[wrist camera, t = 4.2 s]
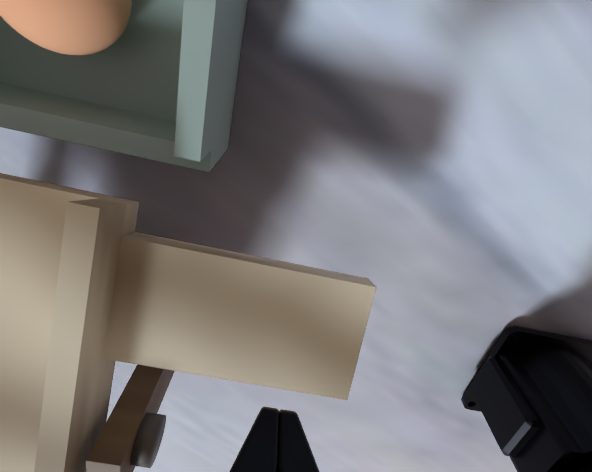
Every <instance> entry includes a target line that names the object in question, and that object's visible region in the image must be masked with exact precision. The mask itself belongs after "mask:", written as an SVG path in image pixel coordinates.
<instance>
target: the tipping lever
mask: <svg viewBox="0 0 592 472" xmlns="http://www.w3.org/2000/svg"><path fill="white" fill-rule="evenodd" d="M138 208H139V202H137V201H132V200H127V199H123V198H118V197H113V196H108V195H103V194H99V193H94V192H89V191H84V190H79V189H74V188H70V187H65V186H60V185H55V184H50V183H45V182H41V181H36V180H31V179H26V178H21V177H16V176H12V175H7V174H2V173H0V472H87V471H86V459H87V457H88V456H89V454H90V452H91V450H92V448H93V446H94V444H95V443H96V441H97V439H98V437H99V435H100V433H101V431H102V430H103V428H104V426H105V424H106V419H107V413H108V406H109V399H110V393H111V386H112V380H113V373H114V366H115V361H121V362H127V363H133V364H138V365H144V366H150V367H156V368H162V369H168V370H174V371H179V372H185V373H191V374H197V375H203V376H209V377H215V378H220V379H226V380H232V381H238V382H244V383H250V384H256V385H261V386H267V387H273V388H279V389H285V390H291V391H297V392H302V393H308V394H314V395H320V396H326V397H332V398H337V399H343V400H347V399H348V395H349V391H350V387H351V383H352V380H353V376H354V372H355V368H356V364H357V360H358V356H359V352H360V349H361V345H362V341H363V337H364V333H365V329H366V325H367V321H368V318H369V314H370V310H371V306H372V302H373V298H374V294H375V290H376V286H375V285H374V284H373V283H372V282H371V281H370V280H369V279H368V278H363V277H358V276H353V275H348V274H343V273H338V272H333V271H328V270H323V269H318V268H313V267H308V266H303V265H298V264H293V263H288V262H283V261H278V260H273V259H268V258H263V257H258V256H253V255H248V254H243V253H238V252H233V251H228V250H223V249H218V248H213V247H208V246H203V245H198V244H193V243H188V242H183V241H178V240H173V239H168V238H163V237H158V236H153V235H148V234H143V233H138V232H135V228H136V221H137V215H138Z"/></svg>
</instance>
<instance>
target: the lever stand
mask: <svg viewBox="0 0 592 472" xmlns="http://www.w3.org/2000/svg"><path fill="white" fill-rule="evenodd" d="M173 373H174V370H168V369H162V368H156V367H150V366H144V365H137V366H136V368H135V370H134V372H133V374H132V376H131V378H130V379H129V381H128V383H127V385H126V387H125V389H124V391H123V392H122V394H121V396H120V398H119V400H118V402H117V404H116V405H115V407H114V409H113V411H112V413H111V415H110V417H109V418H108V420H107V422H106V424H105V426H104V428H103V430H102V431H101V433H100V435H99V437H98V439H97V441H96V443H95V444H94V446H93V448H92V450H91V452H90V454H89V456H88V457H87V459H86V471H87V472H133V470H134V468H135V466H140V467H147V468H150V467H151V466H152V465H153V463H154V460H155V458H156V455H157V453H158V450H159V447H160V444H161V440H162V436H163V433H164V428H165V423H166V415H161V414H157V412H158V410H159V407H160V405H161V402H162V400H163V397H164V395H165V393H166V390H167V388H168V385H169V383H170V380H171V378H172V376H173Z"/></svg>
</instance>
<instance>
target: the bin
mask: <svg viewBox="0 0 592 472" xmlns="http://www.w3.org/2000/svg"><path fill="white" fill-rule="evenodd" d="M247 2H248V0H132V5H131V13H130V18H129V21H128V24H127V26H126V28H125V30H124V32H123V33H122V35H121V36H120V37H119V38H118V40H117V41H116V42H114V43H113V44H112V45H111V46H109V47H108V48H106V49H104V50H102V51H100V52H97V53H93V54H88V55H67V54H61V53H57V52H54V51H51V50H48V49H45V48H43V47H41V46H39V45H37V44H35V43H33V42H32V41H30V40H28V39H27V38H25V37H24V36H22V35H21V34H20V33H18V32H17V31H16V30H15V29H13V28H12V27H11V26H10V25H9V24H8V23H7V22H6V21H5V20H4V19H3V18H2V17H1V16H0V127H3V128H8V129H12V130H17V131H22V132H26V133H31V134H35V135H40V136H45V137H49V138H54V139H58V140H63V141H68V142H72V143H77V144H81V145H86V146H91V147H95V148H100V149H104V150H109V151H114V152H118V153H123V154H127V155H132V156H137V157H141V158H146V159H150V160H155V161H160V162H164V163H169V164H173V165H178V166H183V167H187V168H192V169H197V170H201V171H206V172H209V171H210V170H211V169H212V168H213V167H214V165H215V164H216V163H217V162H218V160H219V159H220V158H221V157H222V155H223V154H224V153H225V152H226V151H227V149H228V144H229V136H230V129H231V121H232V114H233V106H234V99H235V91H236V84H237V76H238V69H239V62H240V54H241V47H242V39H243V32H244V24H245V17H246V9H247Z"/></svg>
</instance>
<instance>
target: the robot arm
mask: <svg viewBox="0 0 592 472" xmlns="http://www.w3.org/2000/svg"><path fill="white" fill-rule="evenodd" d="M514 335H515V336H514ZM461 400H462V403H463V405H464V407H465V408H466V409H470V410H475V411H481V412H482V413H483V415H484V417H485V419H486V421H487V423H488V425H489V427H490V429H491V431H492V433H493V435H494V437H495V439H496V441H497V443H498V445H499V447H500V449H501V451H502V452H503V454H504V455H506V456H510V458H511V460H512V462H513V464H514V466H515V468H516V470H517V472H592V341H588V340H583V339H578V338H573V337H568V336H562V335H557V334H552V333H547V332H542V331H537V330H532V329H527V328H522V327H516V326H513V327H509V328H507V329H506V330H505V331H504V332H503V334H502V335H501V337H500V338H499V340H498V342H497V343H496V345H495V346H494V348H493V349H492V351H491V353H490V354H489V356H488V357H487V359H486V360H485V362H484V363H483V365H482V367H481V368H480V370H479V371H478V373H477V374H476V376H475V378H474V379H473V381H472V382H471V384H470V385H469V387H468V389H467V390H466V392H465V393H464V395H463V396H462V399H461ZM230 472H319V469H318V467H317V464H316V462H315V459H314V456H313V454H312V451H311V449H310V446H309V443H308V441H307V438H306V435H305V433H304V430H303V428H302V425H301V422H300V420H299V417H298V415H297V413H296V412H294V411H288V410H280V411H278V409H276V408H269V407H263V408H262V409H261V410H260V412H259V414H258V416H257V418H256V420H255V422H254V424H253V426H252V428H251V430H250V432H249V434H248V436H247V438H246V440H245V442H244V444H243V446H242V448H241V450H240V452H239V454H238V456H237V458H236V460H235V462H234V464H233V466H232V468H231V470H230Z"/></svg>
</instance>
